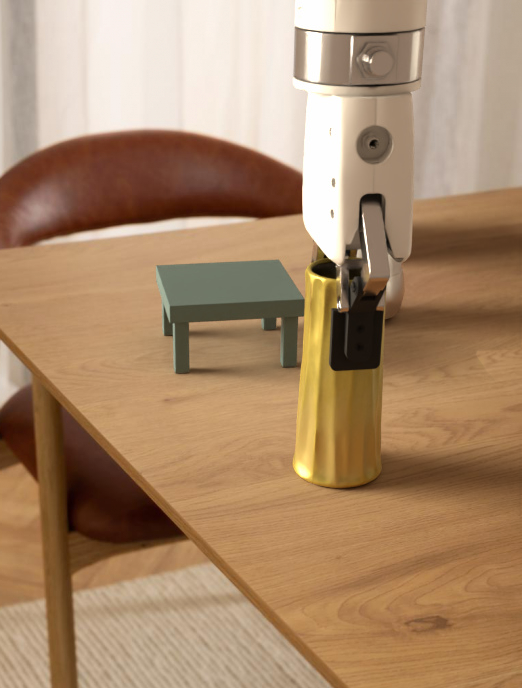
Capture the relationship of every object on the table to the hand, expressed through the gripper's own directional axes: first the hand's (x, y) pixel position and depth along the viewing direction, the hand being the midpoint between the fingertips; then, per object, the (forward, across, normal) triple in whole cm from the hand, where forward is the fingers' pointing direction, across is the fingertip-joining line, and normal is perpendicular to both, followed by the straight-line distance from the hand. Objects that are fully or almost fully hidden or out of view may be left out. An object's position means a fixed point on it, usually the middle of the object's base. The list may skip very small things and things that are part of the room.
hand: (342, 348), depth 78 cm
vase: (+9, 0, 0) cm, 9 cm away
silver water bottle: (+9, +30, -10) cm, 33 cm away
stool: (+9, +24, +4) cm, 26 cm away
